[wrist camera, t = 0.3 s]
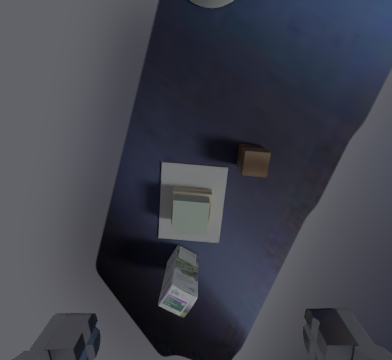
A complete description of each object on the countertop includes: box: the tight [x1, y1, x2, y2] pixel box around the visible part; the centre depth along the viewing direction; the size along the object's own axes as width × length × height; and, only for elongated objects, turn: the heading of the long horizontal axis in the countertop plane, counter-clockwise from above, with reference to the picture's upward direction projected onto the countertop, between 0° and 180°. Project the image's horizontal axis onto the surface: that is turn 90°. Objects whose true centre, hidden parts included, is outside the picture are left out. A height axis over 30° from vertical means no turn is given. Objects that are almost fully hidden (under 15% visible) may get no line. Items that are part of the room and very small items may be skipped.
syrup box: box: [158, 245, 198, 318], centre depth 55 cm, size 6×6×14 cm
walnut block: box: [237, 144, 271, 177], centre depth 50 cm, size 4×4×8 cm
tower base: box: [171, 186, 212, 230], centre depth 56 cm, size 8×8×4 cm
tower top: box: [171, 194, 210, 236], centre depth 52 cm, size 7×7×4 cm
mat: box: [158, 162, 228, 243], centre depth 58 cm, size 18×14×1 cm
